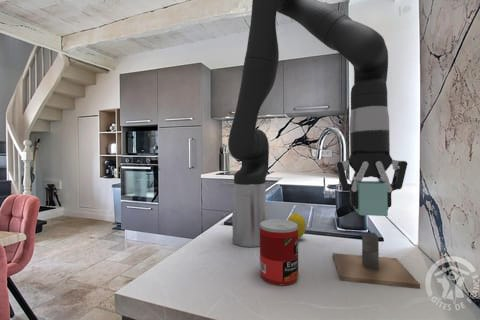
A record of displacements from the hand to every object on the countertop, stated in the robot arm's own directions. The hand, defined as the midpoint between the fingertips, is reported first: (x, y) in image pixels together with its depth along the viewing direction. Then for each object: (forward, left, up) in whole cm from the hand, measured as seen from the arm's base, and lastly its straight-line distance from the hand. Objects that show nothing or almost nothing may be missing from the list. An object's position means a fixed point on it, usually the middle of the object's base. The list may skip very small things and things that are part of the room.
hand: (370, 208), depth 53 cm
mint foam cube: (0, 0, -1) cm, 1 cm away
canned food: (-19, -7, -14) cm, 24 cm away
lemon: (-16, +17, -14) cm, 27 cm away
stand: (0, 0, -13) cm, 13 cm away
